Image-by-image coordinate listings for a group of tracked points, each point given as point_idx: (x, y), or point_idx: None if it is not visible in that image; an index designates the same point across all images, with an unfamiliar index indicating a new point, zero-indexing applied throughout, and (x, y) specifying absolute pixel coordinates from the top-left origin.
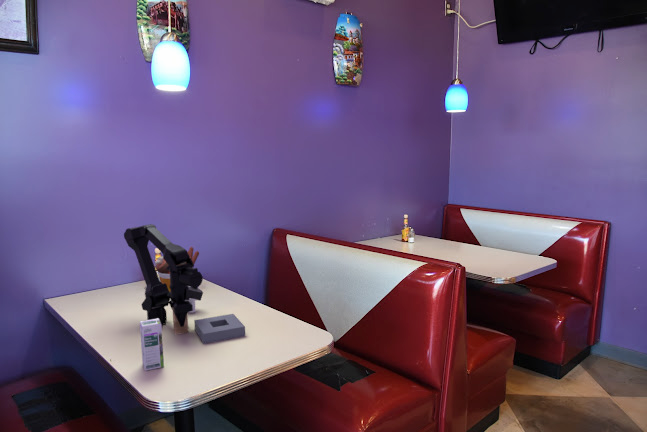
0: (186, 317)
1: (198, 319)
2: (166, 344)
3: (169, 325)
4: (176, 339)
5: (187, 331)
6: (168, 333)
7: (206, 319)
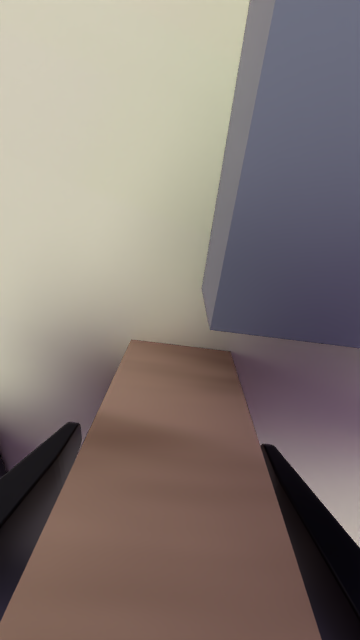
0: (271, 506)
1: (223, 269)
2: (321, 486)
3: (20, 408)
4: (297, 439)
5: (229, 360)
6: None
7: (335, 128)
